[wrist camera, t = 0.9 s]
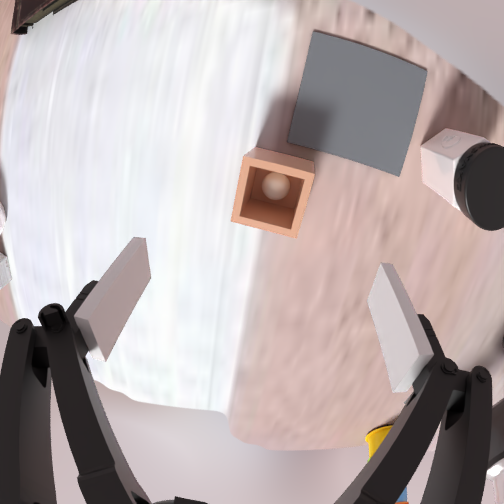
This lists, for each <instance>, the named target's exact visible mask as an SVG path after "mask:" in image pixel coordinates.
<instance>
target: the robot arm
mask: <svg viewBox="0 0 504 504" xmlns="http://www.w3.org/2000/svg"><path fill="white" fill-rule="evenodd" d="M150 279H151V273H150V267H149V260H148V252H147V244H146V238H139V237H133V239H132V240H131V241H130V242H129V243H128V245H127V246H126V247H125V248H124V250H123V251H122V252H121V253H120V255H119V256H118V257H117V258H116V260H115V261H114V262H113V263H112V265H111V266H110V267H109V269H108V270H107V271H106V272H105V274H104V275H103V276H102V278H101V279H100V280H99V281H94V280H93V281H91V282H90V283H88V284H87V285H86V286H85V287H84V288H83V289H82V291H81V292H80V294H79V295H78V296H77V297H76V299H75V300H74V301H73V303H72V304H71V305H70V307H69V308H68V309H67V311H66V312H65V311H64V308H63V306H62V305H60V304H57V303H53V304H49V305H47V306H45V307H44V308H42V309H41V311H40V312H39V315H38V319H39V321H40V323H41V325H42V326H33V324H32V322H31V320H29V319H28V318H23V319H19V320H18V321H16V322H15V323H14V324H13V325H12V327H11V329H10V333H9V337H8V341H7V345H6V349H5V354H4V358H3V363H2V369H1V374H0V504H57V501H56V491H55V484H54V476H53V466H52V455H51V433H50V399H51V378H52V381H53V386H54V390H55V395H56V399H57V403H58V407H59V411H60V415H61V419H62V423H63V426H64V429H65V433H66V436H67V439H68V442H69V446H70V449H71V451H72V454H73V457H74V460H75V463H76V465H77V468H78V471H79V476H78V477H77V479H78V484H79V487H80V489H81V492H82V494H83V496H84V499H85V501H86V503H87V504H152V503H151V501H150V500H149V498H148V496H147V495H146V493H145V492H144V491H143V489H142V488H141V486H140V485H139V484H138V482H137V480H136V479H135V477H134V475H133V473H132V471H131V469H130V467H129V465H128V463H127V461H126V459H125V457H124V455H123V453H122V451H121V448H120V446H119V444H118V442H117V440H116V437H115V436H114V433H113V431H112V428H111V426H110V423H109V421H108V418H107V416H106V413H105V411H104V408H103V406H102V403H101V400H100V398H99V395H98V392H97V389H96V386H95V383H94V380H93V377H92V374H91V371H90V368H89V364H88V361H87V359H86V357H85V356H86V354H87V352H88V351H89V352H90V354H91V356H92V358H94V359H97V360H100V361H104V362H106V361H107V359H108V357H109V355H110V353H111V351H112V349H113V347H114V345H115V343H116V341H117V339H118V337H119V335H120V333H121V331H122V330H123V328H124V326H125V324H126V322H127V320H128V318H129V316H130V315H131V313H132V311H133V309H134V307H135V306H136V304H137V302H138V300H139V298H140V297H141V295H142V293H143V291H144V290H145V288H146V286H147V284H148V283H149V281H150ZM367 302H368V306H369V309H370V312H371V315H372V318H373V322H374V325H375V328H376V332H377V335H378V339H379V342H380V346H381V349H382V353H383V357H384V360H385V364H386V368H387V372H388V376H389V380H390V384H391V388H392V392H393V393H396V392H407V390H408V389H409V388H410V387H411V385H413V389H414V392H413V393H412V394H411V395H410V397H409V398H408V399H407V400H406V401H405V402H404V404H406V405H405V406H404V408H403V410H402V411H401V413H400V415H399V416H398V418H397V420H396V421H395V423H394V425H393V426H392V428H391V429H390V431H389V432H388V434H387V435H386V437H385V438H384V440H383V441H382V443H381V444H380V446H379V447H378V449H377V450H376V452H375V453H374V454H373V456H372V457H371V459H370V460H369V461H368V463H367V464H366V465H365V467H364V468H363V469H362V471H361V472H360V473H359V475H358V476H357V477H356V478H355V480H354V481H353V482H352V483H351V485H350V486H349V487H348V488H347V489H346V490H345V492H344V493H343V494H342V495H341V496H340V498H339V499H338V500H337V501H336V502H335V503H334V504H395V503H396V501H397V500H398V498H399V497H400V495H401V494H402V492H403V491H404V489H405V488H406V486H407V484H408V482H409V481H410V479H411V478H412V476H413V474H414V472H415V471H416V469H417V467H418V465H419V464H420V462H421V460H422V458H423V456H424V455H425V453H426V451H427V449H428V447H429V445H430V443H431V441H432V439H433V436H434V435H435V432H436V430H437V428H438V426H439V424H440V421H441V426H440V431H439V436H438V441H437V446H436V450H435V455H434V459H433V463H432V467H431V471H430V474H429V478H428V481H427V485H426V488H425V491H424V494H423V497H422V501H421V503H420V504H481V501H482V496H483V491H484V486H485V480H486V479H487V480H490V481H492V482H493V488H494V495H495V504H504V398H503V399H502V400H500V401H499V402H497V403H496V404H495V405H493V406H492V378H491V375H490V373H489V371H488V370H487V369H486V368H484V367H482V366H476V367H474V368H473V369H472V371H471V372H467V371H463V370H459V369H458V366H457V365H456V364H455V362H453V361H452V360H451V359H449V358H445V355H444V353H443V350H442V348H441V346H440V344H439V341H438V339H437V337H436V334H435V332H434V331H433V328H432V326H431V323H430V321H429V320H428V319H427V318H426V317H425V316H424V315H423V314H417V313H416V311H415V309H414V307H413V304H412V302H411V300H410V298H409V296H408V294H407V292H406V290H405V288H404V286H403V284H402V282H401V280H400V278H399V276H398V274H397V272H396V270H395V268H394V266H393V264H388V263H380V266H379V269H378V272H377V275H376V277H375V280H374V283H373V286H372V288H371V291H370V294H369V296H368V299H367ZM503 348H504V337H503ZM441 419H442V420H441ZM153 504H207V503H205V502H200V501H195V500H190V499H184V498H180V497H176V496H175V499H174V500H166V501H160V502H156V503H153Z"/></svg>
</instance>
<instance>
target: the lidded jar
mask: <svg viewBox="0 0 504 504" xmlns="http://www.w3.org/2000/svg"><path fill="white" fill-rule="evenodd" d="M5 222H6V213H5V210H4V207H3V205H2V203H1V202H0V234H1V233H2V231H3V228H4V224H5Z"/></svg>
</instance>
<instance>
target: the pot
mask: <svg viewBox="0 0 504 504" xmlns="http://www.w3.org/2000/svg"><path fill="white" fill-rule="evenodd" d="M272 172H278V173H282V174H284V175H285V176H286V177H287V178H288V180H289V182H290V190H289V193H288V194H287V195H286V196H285V197H284V198H282V199H280V200H272V199H270V198H268V197H267V196H266V195H265V194H264V193H263V190H262V182H263V179H264V178H265V176H267V175H268V174H270V173H272ZM314 176H315V169H314V162H313V161H310V160H306V159H302V158H299V157H295V156H291V155H287V154H283V153H279V152H275V151H271V150H266V149H262V148H258V147H255V148H253V149H252V150H251V151H249V152H248V153H247V154H245V155H244V156H243V160H242V165H241V170H240V175H239V180H238V185H237V191H236V196H235V201H234V206H233V212H232V217H231V222H235V223H239V224H243V225H247V226H251V227H254V228H258V229H262V230H266V231H270V232H274V233H277V234H281V235H285V236H289V237H292V238H296V239H297V235H298V232H299V229H300V225H301V222H302V218H303V215H304V211H305V208H306V205H307V201H308V197H309V194H310V190H311V187H312V183H313V180H314Z"/></svg>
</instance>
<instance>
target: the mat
mask: <svg viewBox="0 0 504 504" xmlns="http://www.w3.org/2000/svg"><path fill="white" fill-rule="evenodd" d="M426 76H427V71H426V70H424V69H422V68H419V67H417V66H415V65H413V64H410V63H408V62H406V61H403V60H401V59H399V58H396V57H394V56H391V55H388V54H386V53H383V52H380V51H378V50H375V49H372V48H369V47H366V46H363V45H360V44H357V43H354V42H351V41H347V40H344V39H340V38H337V37H333V36H329V35H326V34H322V33H318V32H313V33H312V38H311V42H310V46H309V51H308V55H307V59H306V64H305V68H304V72H303V77H302V81H301V85H300V90H299V94H298V98H297V102H296V107H295V111H294V115H293V119H292V124H291V128H290V132H289V136H288V140H287V142H289V143H292V144H296V145H300V146H304V147H308V148H311V149H315V150H319V151H322V152H326V153H329V154H332V155H336V156H339V157H342V158H346V159H349V160H352V161H355V162H358V163H361V164H364V165H367V166H370V167H373V168H376V169H379V170H382V171H385V172H387V173H390V174H393V175H396V176H398V177H399V176H400V173H401V170H402V167H403V164H404V161H405V157H406V154H407V151H408V147H409V144H410V141H411V137H412V134H413V130H414V126H415V123H416V119H417V115H418V111H419V107H420V103H421V99H422V95H423V90H424V86H425V81H426Z"/></svg>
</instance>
